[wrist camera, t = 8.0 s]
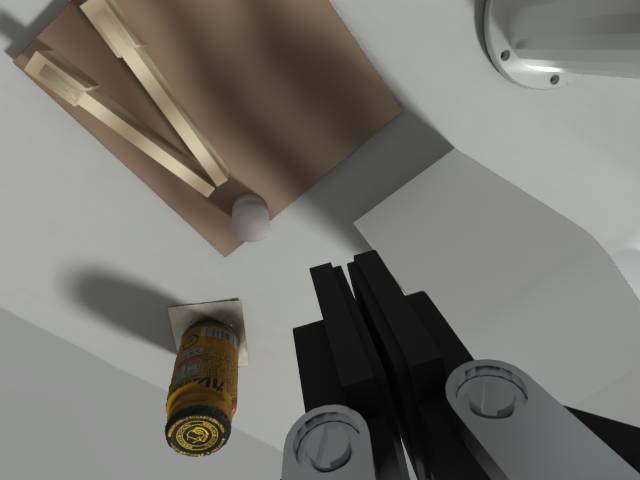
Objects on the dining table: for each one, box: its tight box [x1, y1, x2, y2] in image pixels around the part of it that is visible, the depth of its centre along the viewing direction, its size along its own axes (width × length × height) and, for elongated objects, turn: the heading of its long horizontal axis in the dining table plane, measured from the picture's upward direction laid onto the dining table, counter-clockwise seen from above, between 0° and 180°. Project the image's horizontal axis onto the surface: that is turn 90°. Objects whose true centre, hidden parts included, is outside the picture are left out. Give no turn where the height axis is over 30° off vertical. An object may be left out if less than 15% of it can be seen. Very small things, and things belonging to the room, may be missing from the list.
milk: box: [353, 148, 640, 428], centre depth 32 cm, size 12×12×26 cm
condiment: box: [165, 301, 249, 457], centre depth 39 cm, size 7×8×12 cm
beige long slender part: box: [24, 51, 270, 242], centre depth 34 cm, size 20×3×4 cm, turn 48°
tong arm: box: [80, 0, 229, 187], centre depth 32 cm, size 15×2×3 cm, turn 30°
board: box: [13, 0, 403, 258], centre depth 34 cm, size 21×22×1 cm
